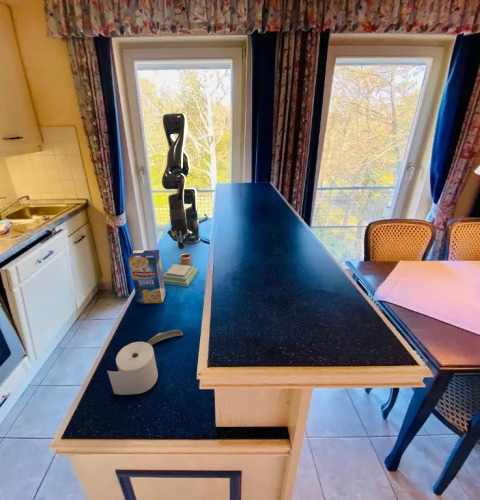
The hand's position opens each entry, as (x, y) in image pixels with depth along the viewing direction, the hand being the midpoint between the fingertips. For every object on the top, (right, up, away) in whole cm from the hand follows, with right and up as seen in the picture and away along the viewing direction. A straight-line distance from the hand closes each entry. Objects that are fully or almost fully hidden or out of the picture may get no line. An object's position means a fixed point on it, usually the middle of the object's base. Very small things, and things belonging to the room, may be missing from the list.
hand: (181, 248), depth 140 cm
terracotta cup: (+1, -8, +9) cm, 13 cm away
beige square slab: (-1, -12, -4) cm, 12 cm away
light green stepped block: (-1, -14, -2) cm, 14 cm away
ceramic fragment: (0, -33, -41) cm, 53 cm away
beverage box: (-11, -22, -17) cm, 30 cm away
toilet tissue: (-5, -41, -55) cm, 69 cm away
